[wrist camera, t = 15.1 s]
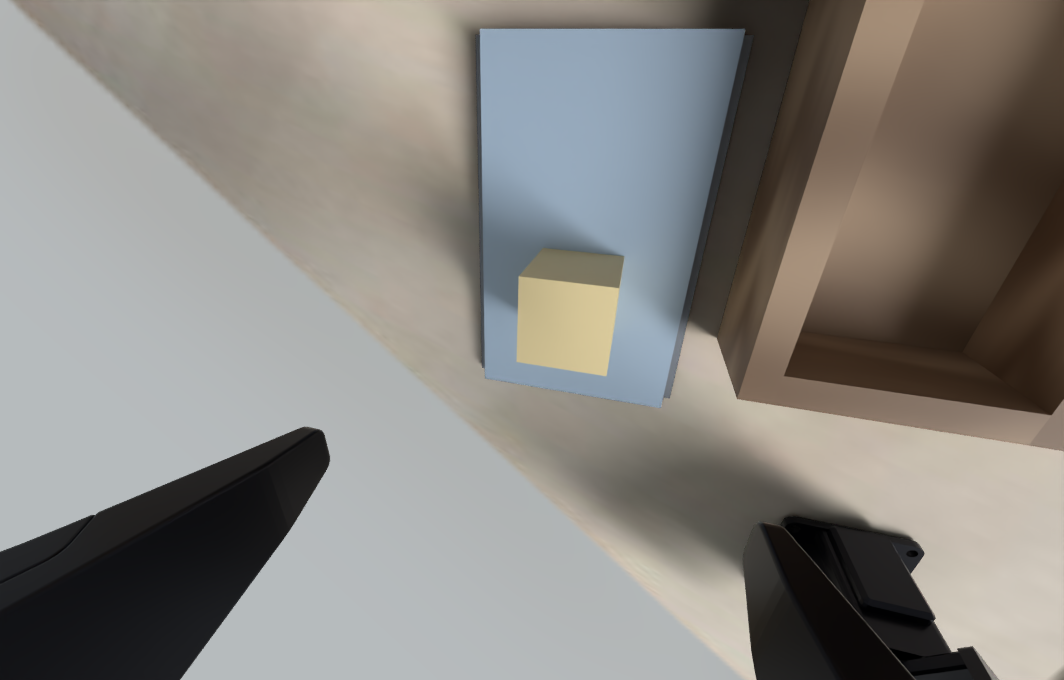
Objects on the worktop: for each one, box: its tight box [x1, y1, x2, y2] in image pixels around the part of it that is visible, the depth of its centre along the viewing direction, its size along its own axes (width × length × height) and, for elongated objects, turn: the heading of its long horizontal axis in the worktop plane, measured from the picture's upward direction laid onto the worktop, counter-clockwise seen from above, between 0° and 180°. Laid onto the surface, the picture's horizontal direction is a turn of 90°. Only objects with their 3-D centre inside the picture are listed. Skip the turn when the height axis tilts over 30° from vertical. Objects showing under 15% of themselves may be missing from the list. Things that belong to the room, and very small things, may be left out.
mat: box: [476, 35, 754, 398], centre depth 19 cm, size 15×10×1 cm, turn 178°
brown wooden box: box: [717, 0, 1064, 451], centre depth 13 cm, size 17×26×7 cm, turn 88°
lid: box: [480, 29, 745, 408], centre depth 16 cm, size 15×9×5 cm, turn 178°
